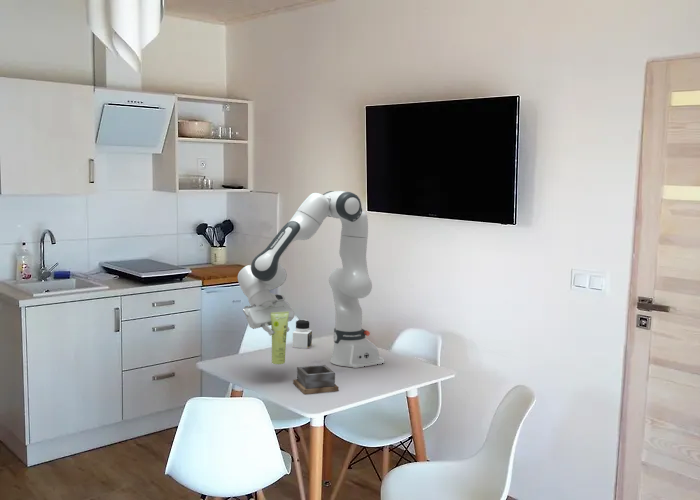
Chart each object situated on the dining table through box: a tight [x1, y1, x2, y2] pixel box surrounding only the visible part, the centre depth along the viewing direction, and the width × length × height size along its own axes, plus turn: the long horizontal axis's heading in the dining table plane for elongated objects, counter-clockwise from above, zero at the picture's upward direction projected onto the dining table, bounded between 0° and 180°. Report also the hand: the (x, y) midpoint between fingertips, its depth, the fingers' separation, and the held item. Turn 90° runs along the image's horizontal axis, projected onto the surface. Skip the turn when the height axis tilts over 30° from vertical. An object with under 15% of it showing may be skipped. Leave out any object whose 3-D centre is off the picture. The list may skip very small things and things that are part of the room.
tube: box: [270, 311, 289, 365], centre depth 254 cm, size 6×5×20 cm
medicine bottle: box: [292, 319, 313, 350], centre depth 307 cm, size 7×7×12 cm
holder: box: [292, 364, 339, 395], centre depth 249 cm, size 13×13×6 cm
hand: (280, 332), depth 254 cm, fingers closed on tube, 6 cm apart
